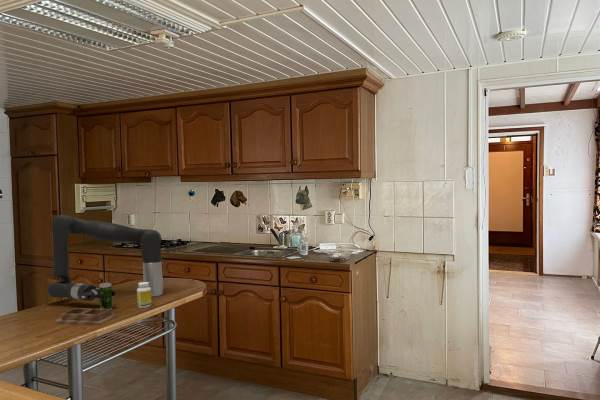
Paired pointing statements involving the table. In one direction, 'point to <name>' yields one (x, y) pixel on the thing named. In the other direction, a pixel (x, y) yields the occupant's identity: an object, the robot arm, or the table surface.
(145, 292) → the pill bottle
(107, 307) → the beer can
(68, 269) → the robot arm
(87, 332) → the table surface
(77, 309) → the rack
